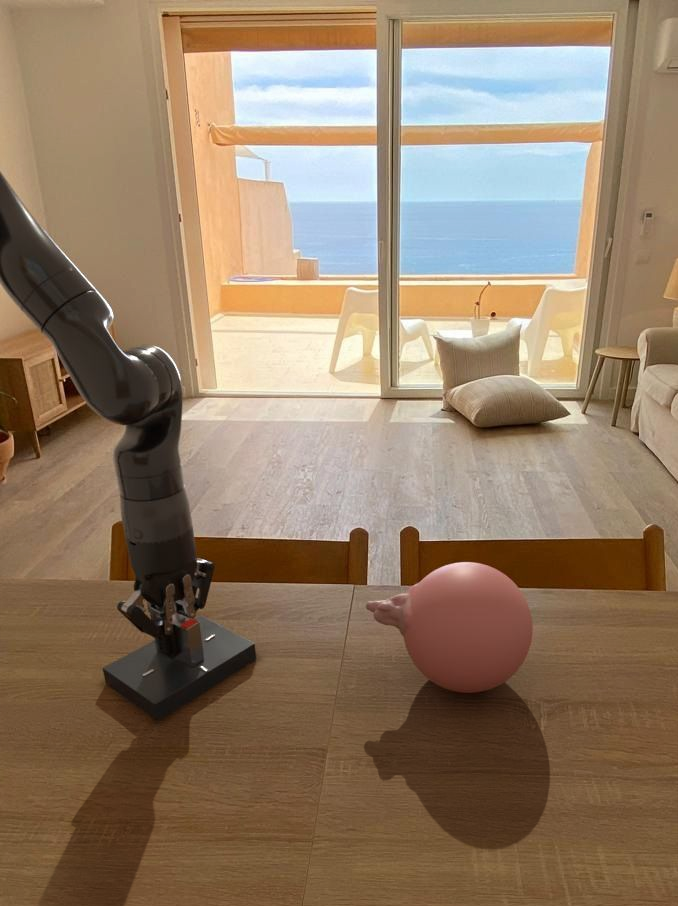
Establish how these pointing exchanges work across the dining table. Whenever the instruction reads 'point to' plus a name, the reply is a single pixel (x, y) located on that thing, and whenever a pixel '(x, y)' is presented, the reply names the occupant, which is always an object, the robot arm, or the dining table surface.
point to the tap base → (178, 671)
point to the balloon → (462, 626)
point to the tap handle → (187, 640)
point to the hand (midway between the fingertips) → (178, 648)
